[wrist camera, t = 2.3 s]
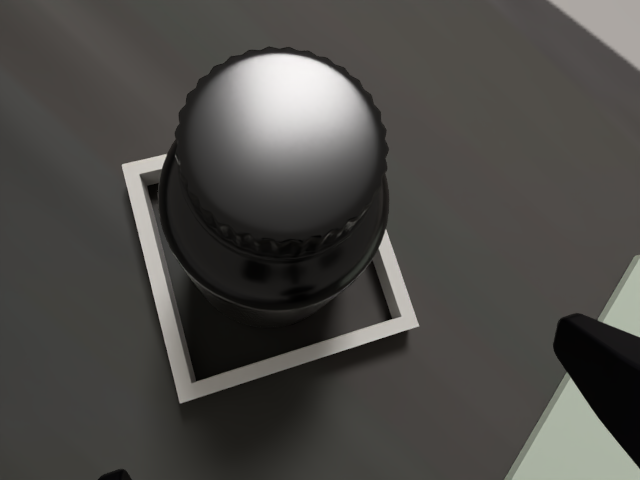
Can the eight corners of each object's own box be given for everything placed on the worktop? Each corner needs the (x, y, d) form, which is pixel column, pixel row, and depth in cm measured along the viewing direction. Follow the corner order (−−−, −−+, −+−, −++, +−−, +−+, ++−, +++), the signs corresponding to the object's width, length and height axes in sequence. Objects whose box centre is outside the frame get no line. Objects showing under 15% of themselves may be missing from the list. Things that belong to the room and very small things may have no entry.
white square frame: (408, 327, 22) (419, 326, 21) (185, 399, 20) (179, 403, 19) (341, 127, 24) (346, 112, 23) (130, 176, 22) (121, 164, 21)
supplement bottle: (338, 334, 22) (429, 314, 10) (182, 322, 21) (89, 284, 9) (347, 189, 23) (435, 28, 12) (203, 173, 23) (145, -15, 11)
